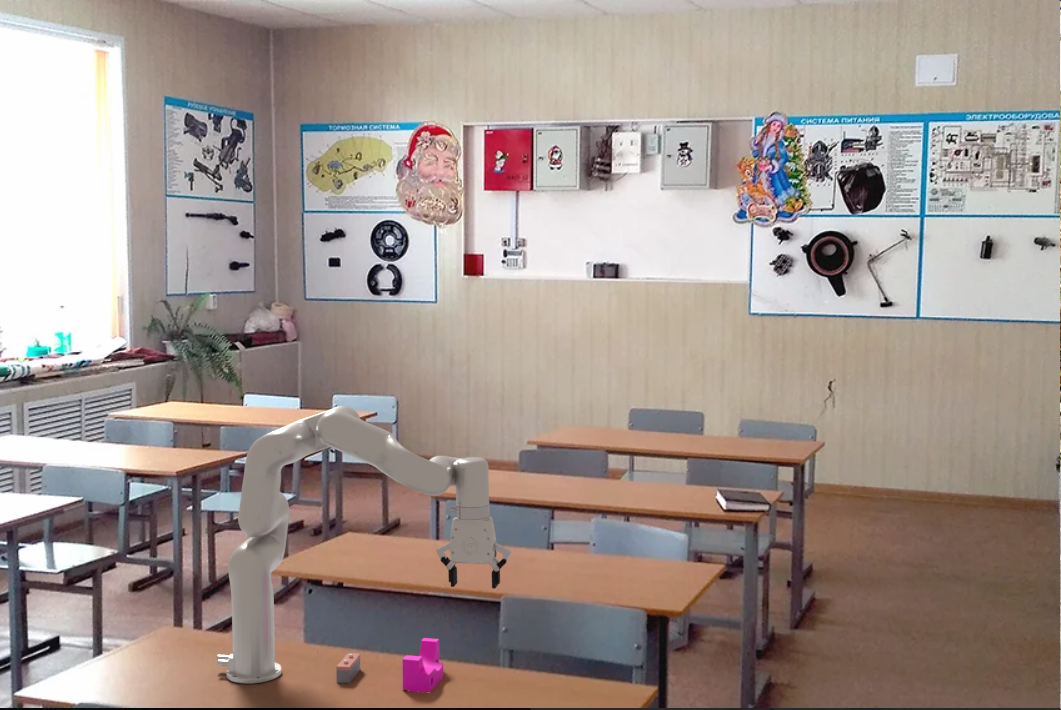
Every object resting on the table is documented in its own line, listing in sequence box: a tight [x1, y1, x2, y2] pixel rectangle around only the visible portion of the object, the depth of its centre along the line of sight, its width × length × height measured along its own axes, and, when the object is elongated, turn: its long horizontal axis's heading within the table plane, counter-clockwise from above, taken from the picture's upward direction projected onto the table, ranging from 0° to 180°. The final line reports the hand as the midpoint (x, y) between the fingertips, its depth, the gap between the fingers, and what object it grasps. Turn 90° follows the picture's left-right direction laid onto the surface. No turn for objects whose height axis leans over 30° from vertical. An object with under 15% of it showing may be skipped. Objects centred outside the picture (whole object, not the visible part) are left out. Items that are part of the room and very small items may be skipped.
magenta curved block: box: [402, 637, 444, 693], centre depth 268 cm, size 15×6×8 cm, turn 167°
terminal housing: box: [335, 652, 361, 684], centre depth 270 cm, size 3×9×4 cm, turn 172°
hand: (474, 586), depth 265 cm, fingers open, 9 cm apart
